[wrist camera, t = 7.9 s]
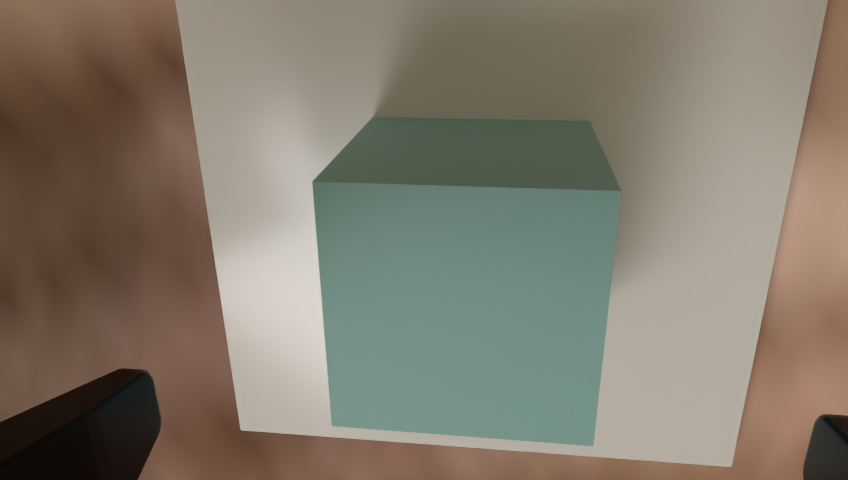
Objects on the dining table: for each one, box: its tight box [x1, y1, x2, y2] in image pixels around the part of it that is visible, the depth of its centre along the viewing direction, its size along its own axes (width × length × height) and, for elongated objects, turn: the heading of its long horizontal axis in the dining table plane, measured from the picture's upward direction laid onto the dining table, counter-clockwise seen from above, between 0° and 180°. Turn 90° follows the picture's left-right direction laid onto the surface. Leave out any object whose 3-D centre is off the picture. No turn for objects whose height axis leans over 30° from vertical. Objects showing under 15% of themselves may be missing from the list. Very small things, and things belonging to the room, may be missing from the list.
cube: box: [312, 117, 621, 446], centre depth 14 cm, size 5×5×5 cm
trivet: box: [175, 0, 828, 467], centre depth 17 cm, size 14×14×1 cm
